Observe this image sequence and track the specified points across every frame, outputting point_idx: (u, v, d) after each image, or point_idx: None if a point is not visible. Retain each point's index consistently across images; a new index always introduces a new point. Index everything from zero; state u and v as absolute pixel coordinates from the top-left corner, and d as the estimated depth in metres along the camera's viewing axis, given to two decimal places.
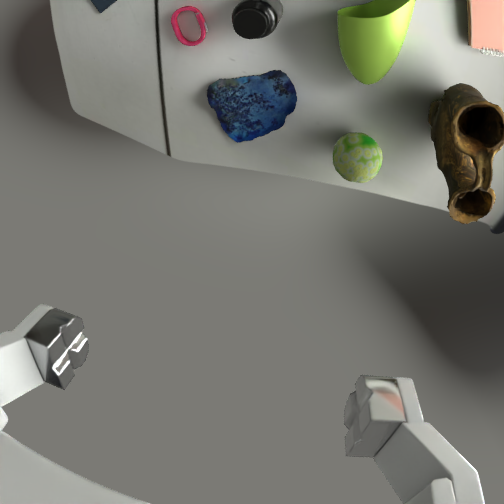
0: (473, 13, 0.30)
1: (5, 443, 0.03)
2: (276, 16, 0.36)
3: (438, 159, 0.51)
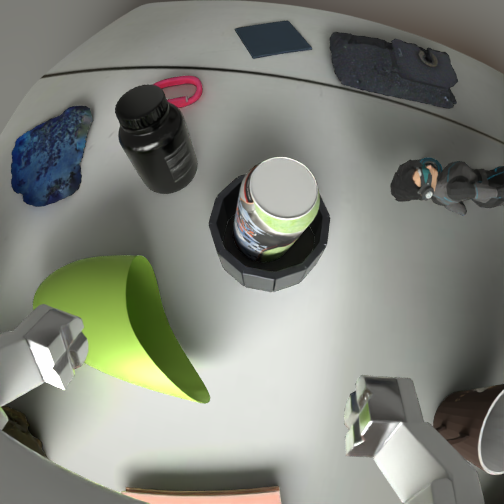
0: (185, 500, 0.23)
1: (5, 443, 0.03)
2: (144, 150, 0.27)
3: None
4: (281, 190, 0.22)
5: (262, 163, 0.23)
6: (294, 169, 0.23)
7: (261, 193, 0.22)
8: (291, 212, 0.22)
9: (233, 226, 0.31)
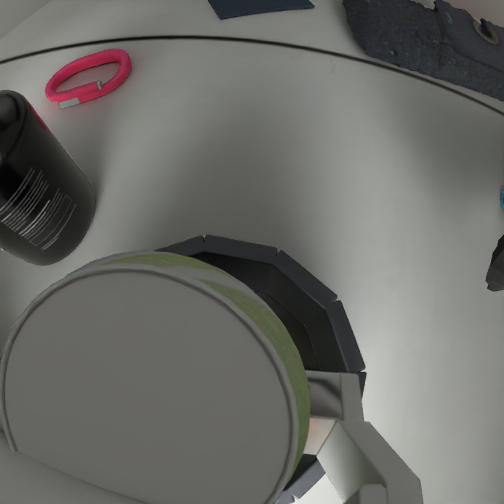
0: None
1: (5, 443, 0.03)
2: None
3: None
4: (113, 444, 0.04)
5: (36, 305, 0.04)
6: (181, 331, 0.04)
7: (40, 448, 0.04)
8: None
9: None
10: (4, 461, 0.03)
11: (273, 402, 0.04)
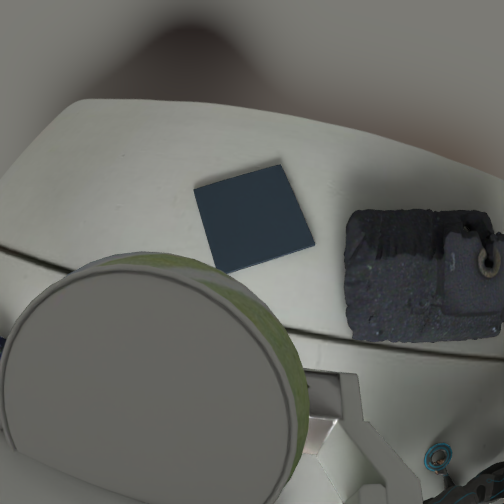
0: None
1: (5, 443, 0.03)
2: None
3: None
4: (112, 445, 0.04)
5: (35, 305, 0.04)
6: (180, 332, 0.04)
7: (39, 448, 0.04)
8: None
9: None
10: (4, 461, 0.03)
11: (272, 403, 0.04)
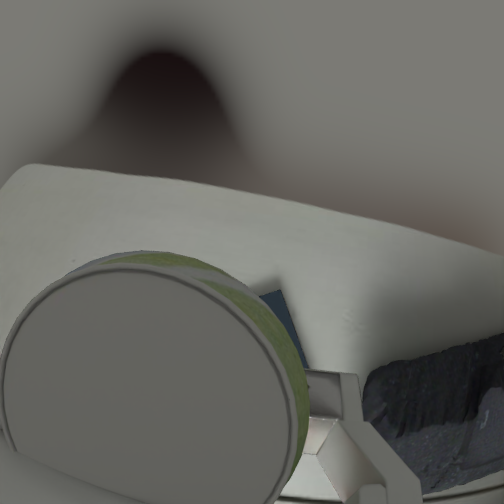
0: None
1: (5, 443, 0.03)
2: None
3: None
4: (112, 443, 0.04)
5: (35, 304, 0.04)
6: (181, 331, 0.04)
7: (39, 447, 0.04)
8: None
9: None
10: (4, 461, 0.03)
11: (272, 402, 0.04)
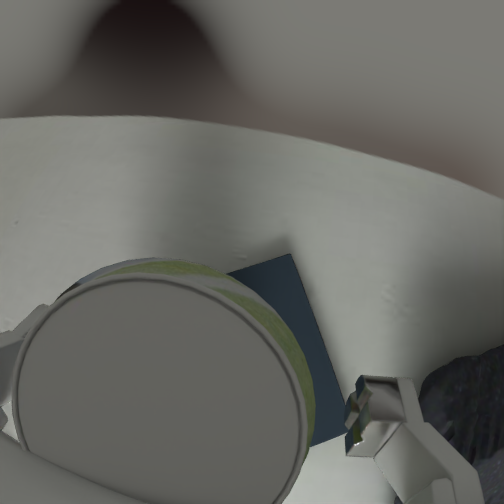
0: None
1: (5, 443, 0.03)
2: None
3: None
4: (129, 447, 0.04)
5: (51, 312, 0.04)
6: (197, 339, 0.05)
7: (55, 452, 0.04)
8: None
9: None
10: (4, 461, 0.03)
11: (284, 405, 0.04)
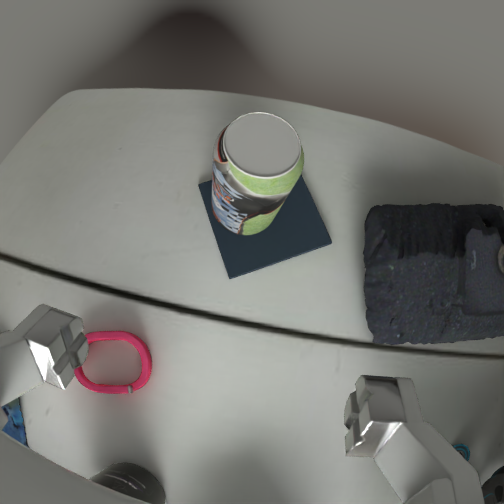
0: None
1: (5, 443, 0.03)
2: None
3: None
4: (258, 146, 0.19)
5: (237, 119, 0.19)
6: (274, 125, 0.20)
7: (236, 150, 0.19)
8: (270, 169, 0.19)
9: None
10: (4, 461, 0.03)
11: (294, 139, 0.20)
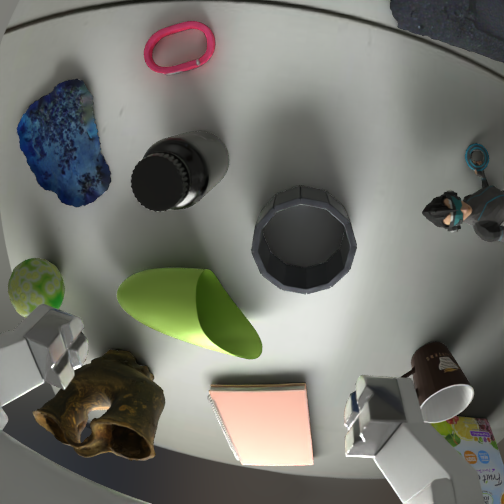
0: (249, 393, 0.48)
1: (5, 443, 0.03)
2: (178, 209, 0.29)
3: (76, 375, 0.46)
4: None
5: None
6: None
7: None
8: None
9: None
10: (4, 461, 0.03)
11: None
